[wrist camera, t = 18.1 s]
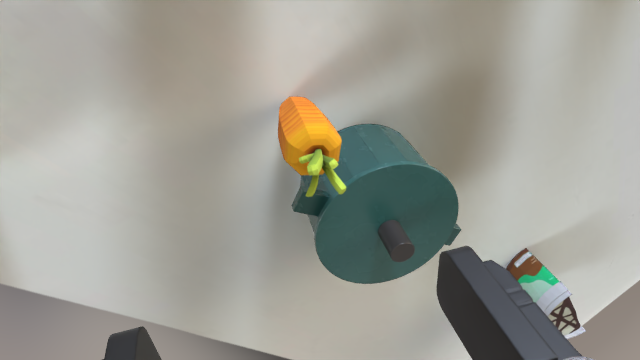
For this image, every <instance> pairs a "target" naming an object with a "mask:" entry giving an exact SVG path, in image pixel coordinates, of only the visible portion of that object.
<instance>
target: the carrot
mask: <svg viewBox="0 0 640 360" xmlns="http://www.w3.org/2000/svg"><path fill="white" fill-rule="evenodd" d="M278 138H279V142H280V147H281V150H282V154H283V157H284V160H285V161H286V162H287V163H288V164H289V165H290V166H292V167H293V168H294V169H295V170H296V171H297V172H298V173H299V174H300V175H313V176H312V180H311V183H310V186H309V188H308V191H307V193H306V195H305V196H307V197H312V196H313V195H314V193H315V191H316V188H317V185H318V180H319V175H322V174H324V173H325V174H326V176H327V177H328V179H329V181H330V182H331V184H332V185H333V187H334V188H335V190H336V191H337V192H338V193H339V194H343V193H344V192H345V191H346V186H345V184H344V183H343V182H342V181H341V179H340V178H339V177H338V176H337V174H336V173H335V172H334V171H333V169H335V168H336V167H337V166H338V163H337V162H338V161H339V155H340V149H341V143H342V139H341V137H340V135H339V134H338V132H337V131H336V129H335V128H334V127H333V125H332V124H331V123H330V121H329V120H328V119H327V118H326V117H325V115H324V114H323V113H322V112H321V111H320V110H319V109H318V108H317V107H316V105H314V104H313V103H312V102H311V101H309V100H308V99H306V98H304V97H289V98H287V99H286V100H285V101H284V102H283V103H282V104H281V106H280V109H279V124H278Z"/></svg>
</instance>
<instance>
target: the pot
mask: <svg viewBox="0 0 640 360" xmlns="http://www.w3.org/2000/svg"><path fill="white" fill-rule="evenodd" d="M338 134H339V135H340V137H341V139H342V143H341V149H340V155H339V161H338V162H337V163H338V166H337V167H336V168H335V169H333V171H334V172H335V173H336V174H337V176H338V177H339V178H340V179H341V181H342V182H343V183H346V182H347V181H348V180H349V179H351V178H353V177H354V176H356V175H357V174H359V173H361V172H363V171H365V170H367V169H369V168H372V167H375V166H377V165H381V164H385V163H389V162H396V161H412V162H419V163H423V164H426V165H428V163H427V162H426V161H425V160H424V159H423V158H422V157H421V156H420V154H419V153H418V152H417V151H416V150H415V149H414V148H413V147H412V145H411V144H410V143H409V142H408V141H407V140H406V139H405V138H404V137H403V136H402V135H401V134H400V133H399V132H397V131H395V130H393V129H391V128H389V127H386V126H382V125H377V124H361V125H355V126H351V127H348V128H345V129H342V130H340V131H338ZM312 176H313V175H302V176H301V184H300V185H301V187H300V189H299V191H298V193H297V195H296V197H295V199H294V201H293V203H292V208H293V211H295V212H299V213H304V214H308V217H309V220H310V223H311V225H312V228H313V231H314V234H315V227H316V223H317V220H318V217H319V215H320V213H321V210H322V209H323V207H324V205H325V204H326V202H327V201H328V200H329V198H330V197H331V196H332V195H333V194H334V193H335V192H336V190H335V188H334V187H333V185H332V184H331V182H330V181H329V179H328V177H327V176H326V174H325V173H324V174H322V175H319V180H318V185H317V188H316V191H315V193H314V195H313V196H312V197H307V196H305V195H306V193H307V191H308V188H309V186H310V183H311V180H312ZM460 231H461V229H460V227H459V226H458V225H457V224H455V226H454V229H453V231H452V233H451V235H450V237H449V238H448V240H447V241H446V243H445V245H449V246H450V245H451V243H452V242H453V241H454V239H455V238H456V236H457V235H458V234H459V232H460Z"/></svg>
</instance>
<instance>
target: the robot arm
mask: <svg viewBox="0 0 640 360" xmlns="http://www.w3.org/2000/svg"><path fill="white" fill-rule="evenodd" d="M437 296H438V300H439V303H440V306H441V308H442V310H443V312H444V313H445V315H446V317H447V318H448V320H449V322H450V323H451V325H452V327H453V328H454V330H455V331H456V333H457V335H458V336H459V338H460V340H461V341H462V343H463V345H464V346H465V348H466V350H467V351H468V353H469V355H470V356H471V358H472V360H594V359H590V358H587V357H583V356H582V355H581V354H580V353H578V351H577V350H576V349H575V348H574V347H573V346H572V345H571V344H570V342H569V341H568V340H567V339H566V338H565V336H564V335H563V334H562V333H561V332H560V331H559V329H558V328H557V327H556V326H555V325H554V323H553V322H552V321H551V320H550V319H549V318H548V316H547V315H546V314H545V313H544V312H543V311H542V309H541V308H540V307H539V306H538V305H537V303H536V302H533V299H532V298H531V296H530V295H529V294H528V293H527V292H526V290H523V289H522V286H521V285H520V283H519V282H518V281H517V280H516V279H515V278H514V276H513V275H512V274H511V273H510V272H509V271H508V270H506V269H505V268H503V267H502V266H500V265H498V264H497V263H495V262H494V261H492V260H489V261H485V262H482V260H481V259H480V258H479V257H478V255H477V254H476V253H475V252H474V250H473V249H472V248H470V247H469V246H464V247H460V248H456V249H452V250H448V251H445V252H442V253H441V254H440V258H439V268H438V279H437ZM103 360H161V358H160V356H159V354H158V352H157V350H156V348H155V346H154V344H153V342H152V340H151V338H150V336H149V334H148V332H147V330H146V329H145V328H144V327H138V328H135V329H131V330H127V331H123V332H119V333H115V334H112V335H111V336H110V337H109V339H108V343H107V348H106V353H105V358H104V359H103Z"/></svg>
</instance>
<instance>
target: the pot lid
mask: <svg viewBox="0 0 640 360" xmlns="http://www.w3.org/2000/svg"><path fill="white" fill-rule="evenodd" d="M344 184H345V186H346V191H345V192H344V193H343V194H339V193H338V192H337V191H336V192H335V193H334V194H333V195H332V196H331V197H330V198H329V200H328V201H327V202H326V204H325V205H324V207H323V209H322V210H321V213H320V215H319V217H318V220H317V223H316V227H315V234H314V240H315V247H316V251H317V254H318V256H319V259H320V261H321V262H322V264H323V265H324V266H325V267H326V269H327V270H328V271H330V272H331V273H332V274H334V275H335V276H337V277H339V278H341V279H343V280H346V281H349V282H354V283H362V284H373V283H381V282H386V281H390V280H393V279H396V278H399V277H402V276H404V275H406V274H408V273H410V272H412V271H414V270H416V269H417V268H419V267H421V266H422V265H423V264H425V263H426V262H427V261H429V260H430V259H431V258H432V257H433V256H434V255H435V254H436V253H437V252H438V251H439V250H440V249H441V248H442V247H443V245H444V244H445V243H446V241H447V240H448V238H449V237H450V235H451V233H452V231H453V229H454V226H455V223H456V220H457V216H458V198H457V194H456V191H455V189H454V187H453V185H452V184H451V182H450V181H449V180H448V179H447V177H446V176H445V175H443V174H442V173H441V172H440V171H438V170H437V169H435V168H434V167H431V166H429V165H426V164H423V163H419V162H412V161H396V162H389V163H385V164H381V165H377V166H375V167H372V168H369V169H367V170H365V171H363V172H361V173H359V174H357V175H356V176H354V177H353V178H351V179H349V180H348V181H347V182H346V183H344Z"/></svg>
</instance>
